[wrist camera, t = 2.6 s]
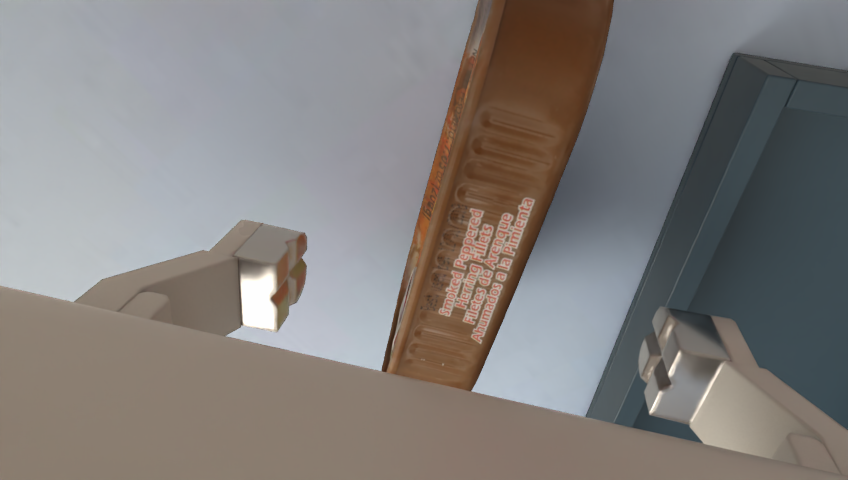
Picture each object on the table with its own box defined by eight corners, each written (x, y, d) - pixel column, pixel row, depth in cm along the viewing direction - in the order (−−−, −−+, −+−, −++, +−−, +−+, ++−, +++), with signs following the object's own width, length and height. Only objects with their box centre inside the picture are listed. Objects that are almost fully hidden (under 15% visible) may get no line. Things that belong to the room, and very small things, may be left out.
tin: (506, -99, 16) (491, -115, 9) (607, -69, 16) (672, -61, 9) (397, 291, 24) (343, 448, 17) (466, 312, 24) (441, 477, 17)
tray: (567, 460, 28) (571, 515, 25) (732, 51, 17) (768, 74, 15) (804, 512, 27) (834, 574, 24) (1125, 115, 17) (1234, 150, 14)
